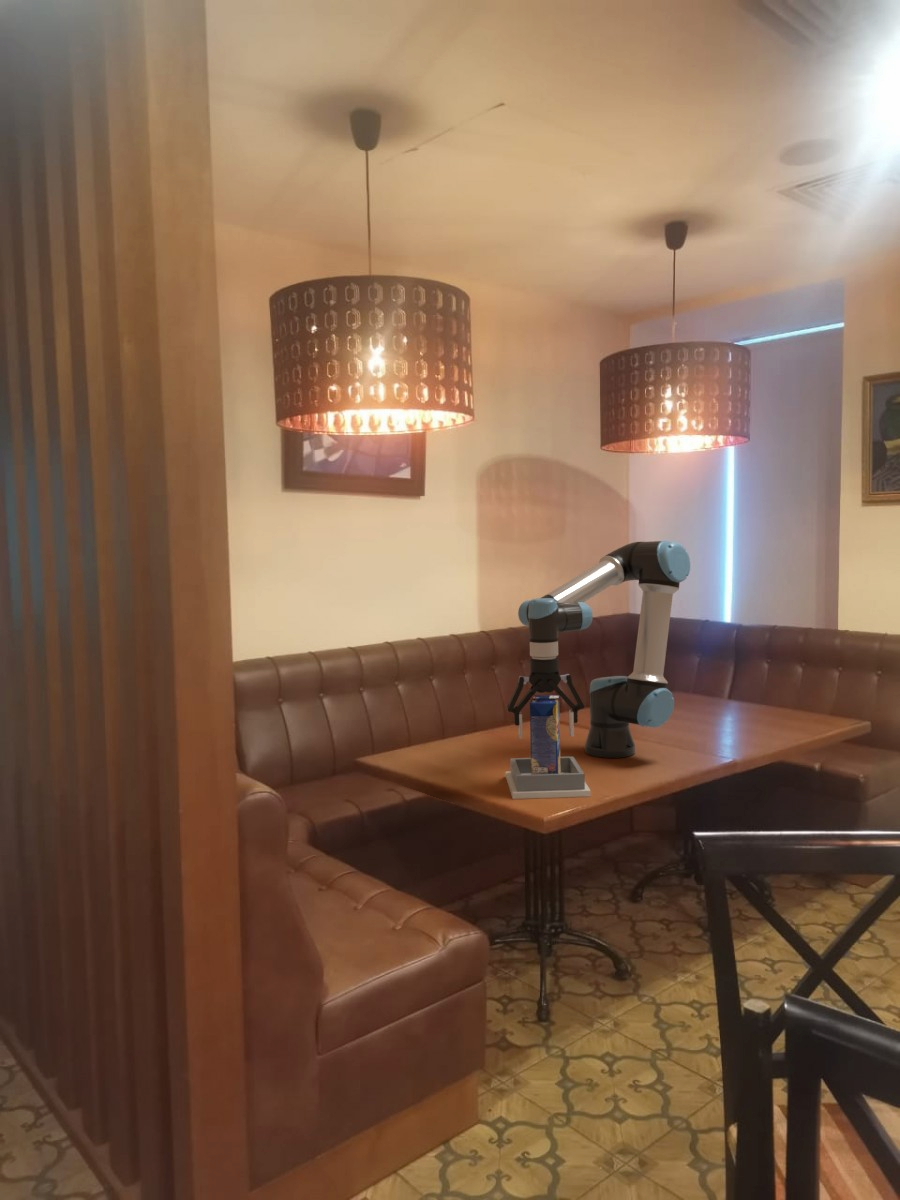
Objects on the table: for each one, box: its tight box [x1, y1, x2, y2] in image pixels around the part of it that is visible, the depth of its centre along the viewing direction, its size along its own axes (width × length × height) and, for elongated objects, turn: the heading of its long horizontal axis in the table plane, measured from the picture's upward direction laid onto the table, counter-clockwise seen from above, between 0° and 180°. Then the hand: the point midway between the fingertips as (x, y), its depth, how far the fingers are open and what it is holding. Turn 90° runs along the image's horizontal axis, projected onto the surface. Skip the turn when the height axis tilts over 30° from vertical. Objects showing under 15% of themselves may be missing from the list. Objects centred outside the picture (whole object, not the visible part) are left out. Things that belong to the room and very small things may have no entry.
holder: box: [505, 756, 592, 800], centre depth 227 cm, size 20×20×6 cm
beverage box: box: [529, 694, 561, 774], centre depth 226 cm, size 7×11×22 cm, turn 169°
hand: (546, 736), depth 226 cm, fingers open, 13 cm apart
